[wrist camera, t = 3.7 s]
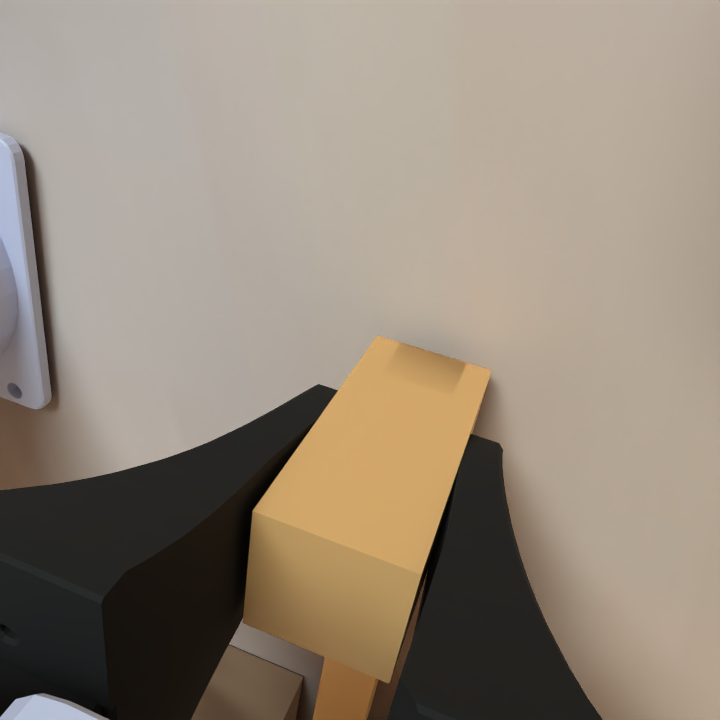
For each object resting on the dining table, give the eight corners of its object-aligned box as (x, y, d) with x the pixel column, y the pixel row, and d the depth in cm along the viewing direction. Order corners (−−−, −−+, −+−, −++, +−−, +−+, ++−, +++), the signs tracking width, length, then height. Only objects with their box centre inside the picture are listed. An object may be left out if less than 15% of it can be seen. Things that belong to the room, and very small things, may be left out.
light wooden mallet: (311, 685, 22) (218, 890, 17) (377, 335, 15) (252, 510, 10) (386, 717, 21) (314, 939, 16) (491, 370, 14) (421, 574, 9)
